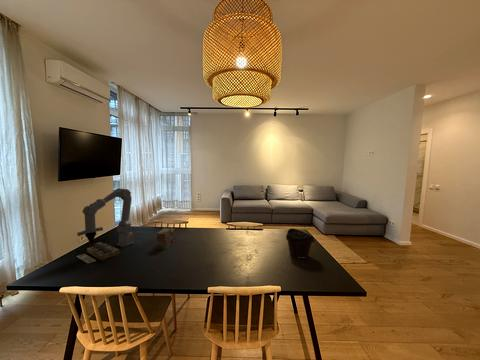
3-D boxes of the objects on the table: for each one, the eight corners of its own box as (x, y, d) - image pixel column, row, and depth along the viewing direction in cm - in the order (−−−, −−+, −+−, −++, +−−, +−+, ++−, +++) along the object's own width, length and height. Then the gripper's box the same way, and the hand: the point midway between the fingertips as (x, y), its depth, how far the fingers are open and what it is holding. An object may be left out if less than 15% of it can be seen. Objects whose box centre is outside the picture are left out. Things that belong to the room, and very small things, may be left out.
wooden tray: (105, 247, 161) (105, 243, 161) (119, 253, 150) (119, 249, 150) (87, 252, 151) (87, 248, 151) (101, 260, 140) (100, 255, 140)
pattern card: (84, 254, 148) (84, 253, 148) (96, 260, 139) (96, 260, 139) (76, 256, 144) (76, 256, 144) (87, 263, 135) (87, 263, 135)
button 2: (104, 247, 153) (104, 243, 153) (108, 249, 151) (107, 245, 151) (98, 249, 150) (98, 245, 149) (101, 251, 147) (101, 247, 147)
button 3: (109, 250, 150) (109, 245, 150) (112, 251, 148) (112, 247, 147) (102, 252, 146) (102, 247, 146) (106, 253, 144) (105, 249, 144)
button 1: (100, 245, 157) (100, 241, 157) (103, 247, 154) (103, 243, 154) (93, 247, 153) (93, 243, 153) (96, 249, 151) (96, 245, 151)
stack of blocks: (168, 238, 181) (168, 224, 180) (175, 239, 181) (175, 225, 180) (157, 249, 160) (156, 233, 159) (165, 249, 160) (165, 233, 159)
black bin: (315, 262, 144) (316, 236, 143) (285, 259, 148) (286, 234, 147) (312, 252, 161) (313, 228, 160) (285, 249, 165) (286, 226, 164)
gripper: (80, 227, 135) (81, 248, 136) (104, 222, 147) (105, 241, 148) (75, 225, 139) (76, 245, 140) (99, 220, 151) (100, 239, 152)
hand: (91, 243), depth 144 cm, fingers closed
